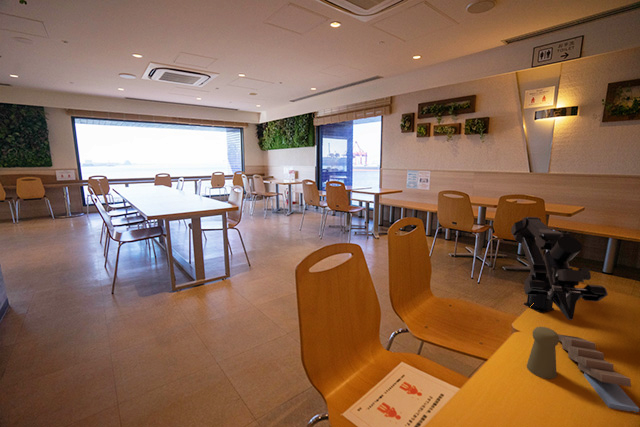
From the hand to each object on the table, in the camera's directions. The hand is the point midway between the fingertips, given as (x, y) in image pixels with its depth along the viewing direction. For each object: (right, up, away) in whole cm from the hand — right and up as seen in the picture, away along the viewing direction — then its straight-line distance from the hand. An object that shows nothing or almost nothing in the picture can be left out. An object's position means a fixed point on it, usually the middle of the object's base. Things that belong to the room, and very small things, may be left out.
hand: (570, 319), depth 85 cm
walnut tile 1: (0, -6, +2) cm, 6 cm away
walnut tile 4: (-4, -8, -10) cm, 14 cm away
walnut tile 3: (-3, -8, -6) cm, 10 cm away
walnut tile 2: (-1, -7, -2) cm, 7 cm away
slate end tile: (-4, -9, -13) cm, 16 cm away
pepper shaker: (-16, -9, -10) cm, 21 cm away
